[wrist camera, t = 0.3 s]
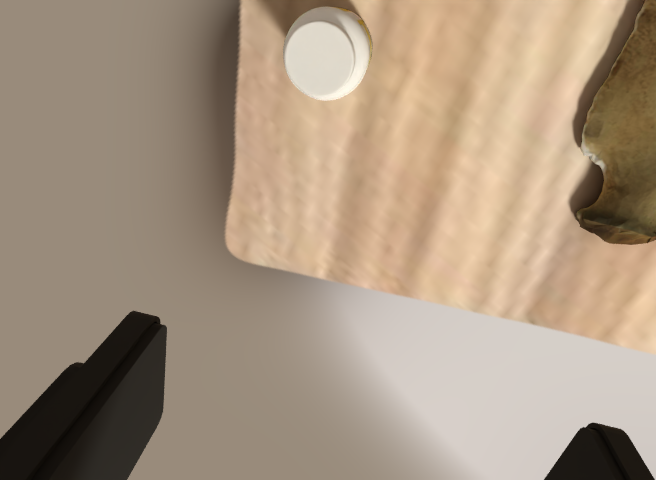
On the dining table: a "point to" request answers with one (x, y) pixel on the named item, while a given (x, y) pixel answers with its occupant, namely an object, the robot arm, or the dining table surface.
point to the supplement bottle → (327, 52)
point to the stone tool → (625, 141)
